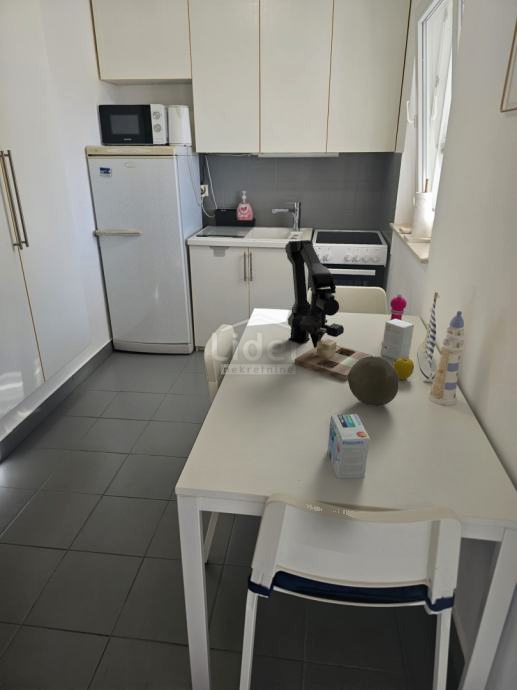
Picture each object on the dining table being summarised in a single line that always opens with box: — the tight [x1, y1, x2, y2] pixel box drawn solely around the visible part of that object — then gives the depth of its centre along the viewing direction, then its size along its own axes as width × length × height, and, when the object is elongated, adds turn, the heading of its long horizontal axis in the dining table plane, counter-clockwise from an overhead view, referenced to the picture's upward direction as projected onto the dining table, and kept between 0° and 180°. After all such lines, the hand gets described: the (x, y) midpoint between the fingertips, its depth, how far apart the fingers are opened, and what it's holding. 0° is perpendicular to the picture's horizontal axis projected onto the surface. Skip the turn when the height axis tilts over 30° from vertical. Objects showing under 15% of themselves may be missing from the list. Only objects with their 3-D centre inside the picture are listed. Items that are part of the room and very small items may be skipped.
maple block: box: [316, 337, 337, 359], centre depth 162 cm, size 5×5×5 cm
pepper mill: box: [389, 293, 407, 321], centre depth 177 cm, size 7×7×20 cm
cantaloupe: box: [347, 356, 400, 407], centre depth 131 cm, size 14×14×15 cm
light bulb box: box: [326, 413, 371, 479], centre depth 106 cm, size 11×7×11 cm, turn 5°
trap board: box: [294, 344, 374, 381], centre depth 161 cm, size 20×21×2 cm
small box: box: [381, 319, 415, 361], centre depth 166 cm, size 8×6×13 cm
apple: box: [392, 357, 415, 380], centre depth 149 cm, size 6×6×8 cm
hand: (315, 347), depth 164 cm, fingers closed
